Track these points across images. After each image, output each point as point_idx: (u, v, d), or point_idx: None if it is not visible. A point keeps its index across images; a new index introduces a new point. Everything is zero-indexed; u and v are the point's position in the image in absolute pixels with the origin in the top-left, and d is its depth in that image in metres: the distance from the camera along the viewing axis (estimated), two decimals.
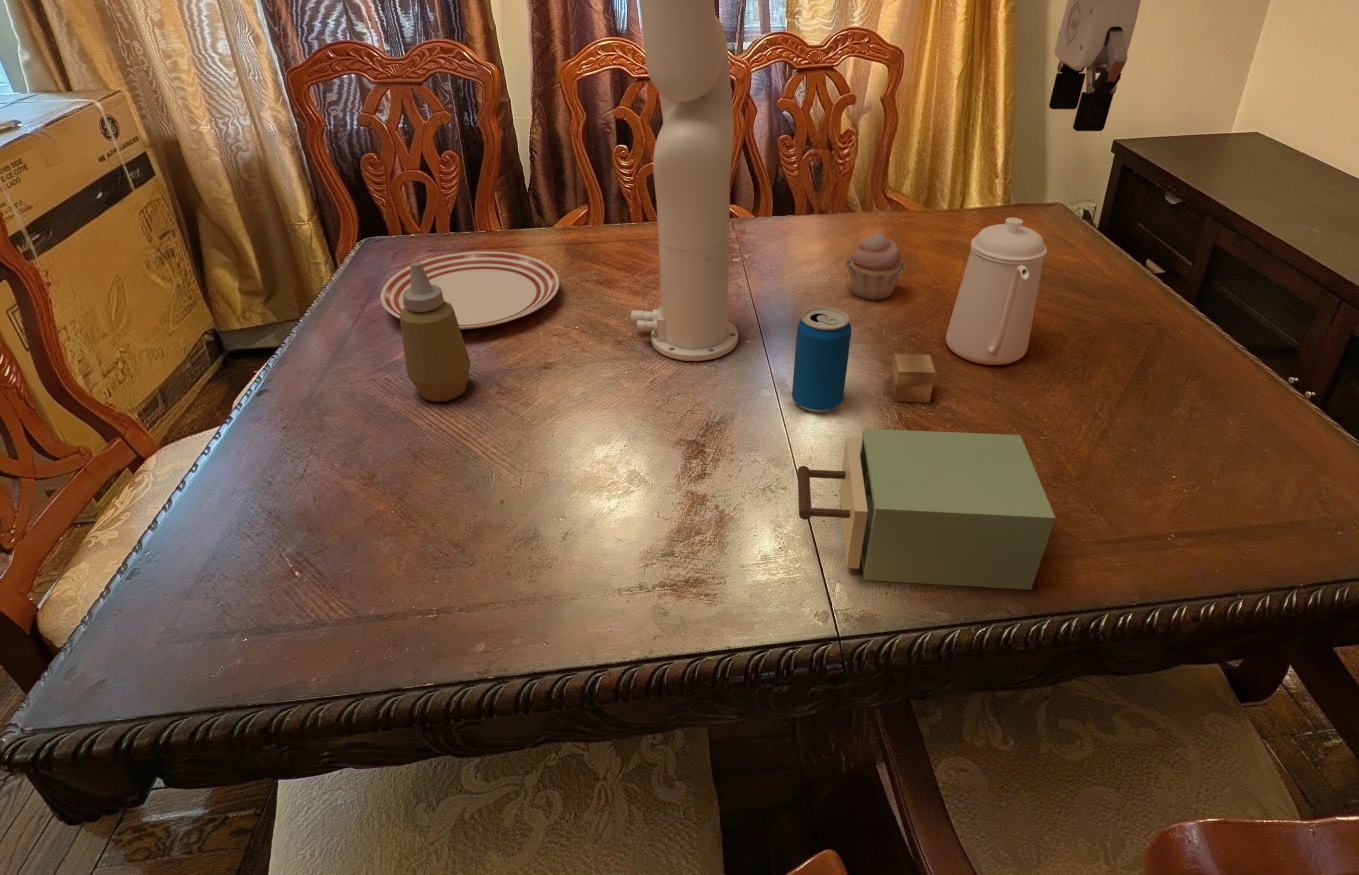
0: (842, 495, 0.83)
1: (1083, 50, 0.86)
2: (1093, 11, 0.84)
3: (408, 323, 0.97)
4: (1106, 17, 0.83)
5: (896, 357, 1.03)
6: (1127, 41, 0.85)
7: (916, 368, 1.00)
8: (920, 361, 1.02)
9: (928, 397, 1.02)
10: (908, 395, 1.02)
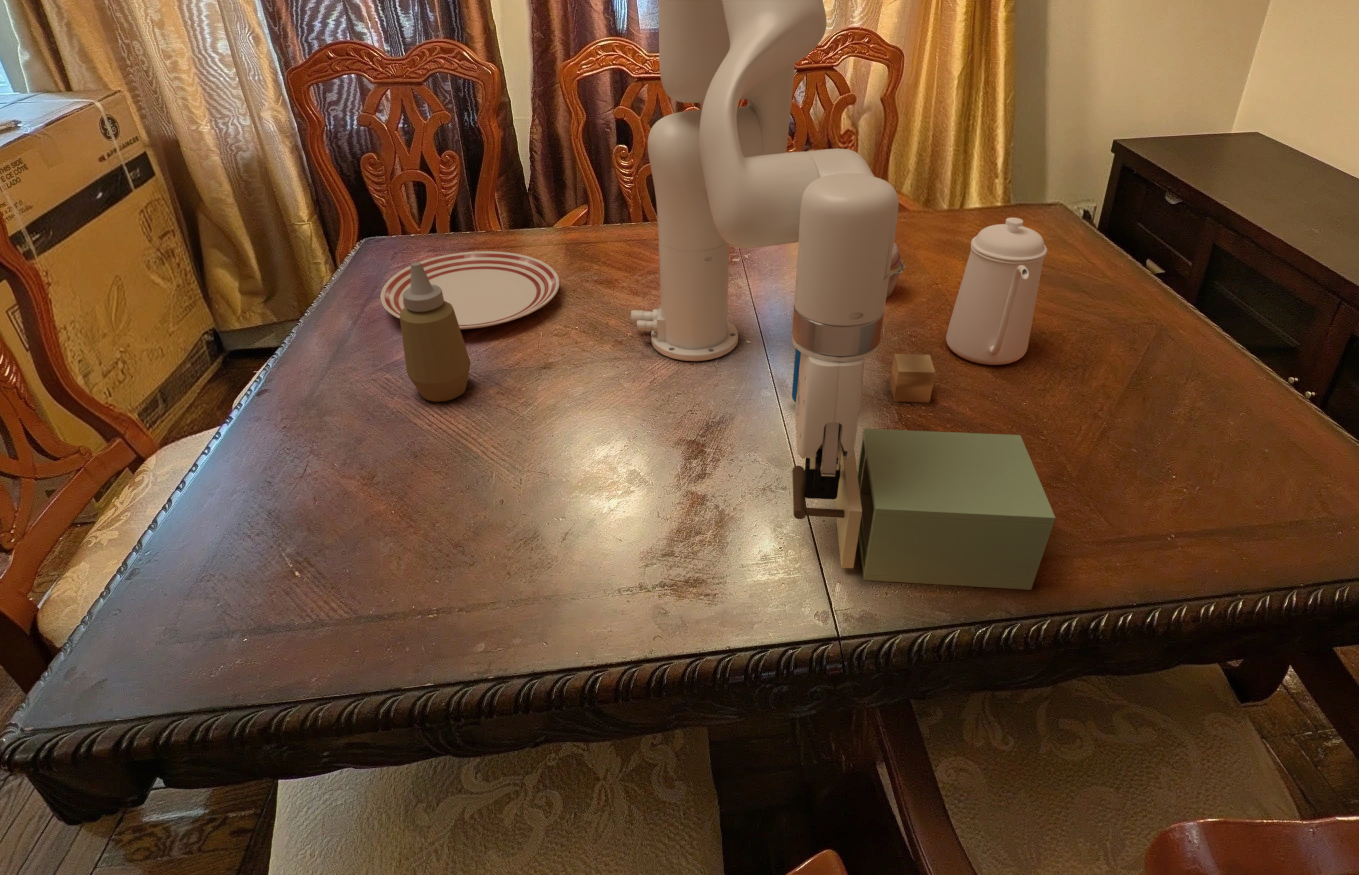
0: (837, 495, 0.83)
1: (801, 441, 0.70)
2: (805, 404, 0.68)
3: (408, 323, 0.97)
4: (820, 413, 0.68)
5: (896, 357, 1.03)
6: (851, 436, 0.69)
7: (916, 368, 1.00)
8: (920, 361, 1.02)
9: (928, 397, 1.02)
10: (908, 395, 1.02)
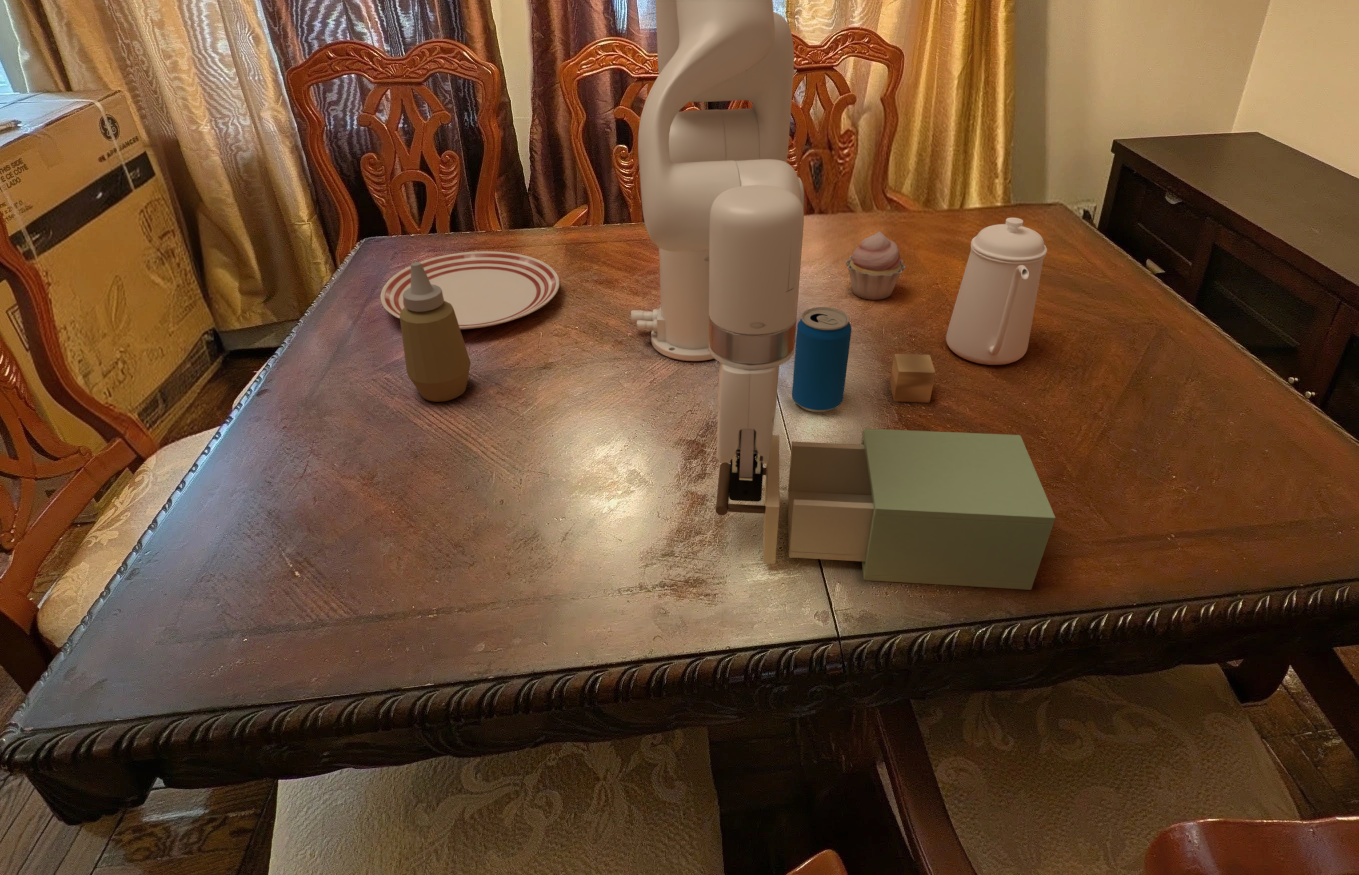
0: None
1: (718, 446, 0.71)
2: (719, 410, 0.70)
3: (408, 323, 0.97)
4: (734, 419, 0.69)
5: (896, 357, 1.03)
6: (765, 442, 0.70)
7: (916, 368, 1.00)
8: (920, 361, 1.02)
9: (928, 397, 1.02)
10: (908, 395, 1.02)
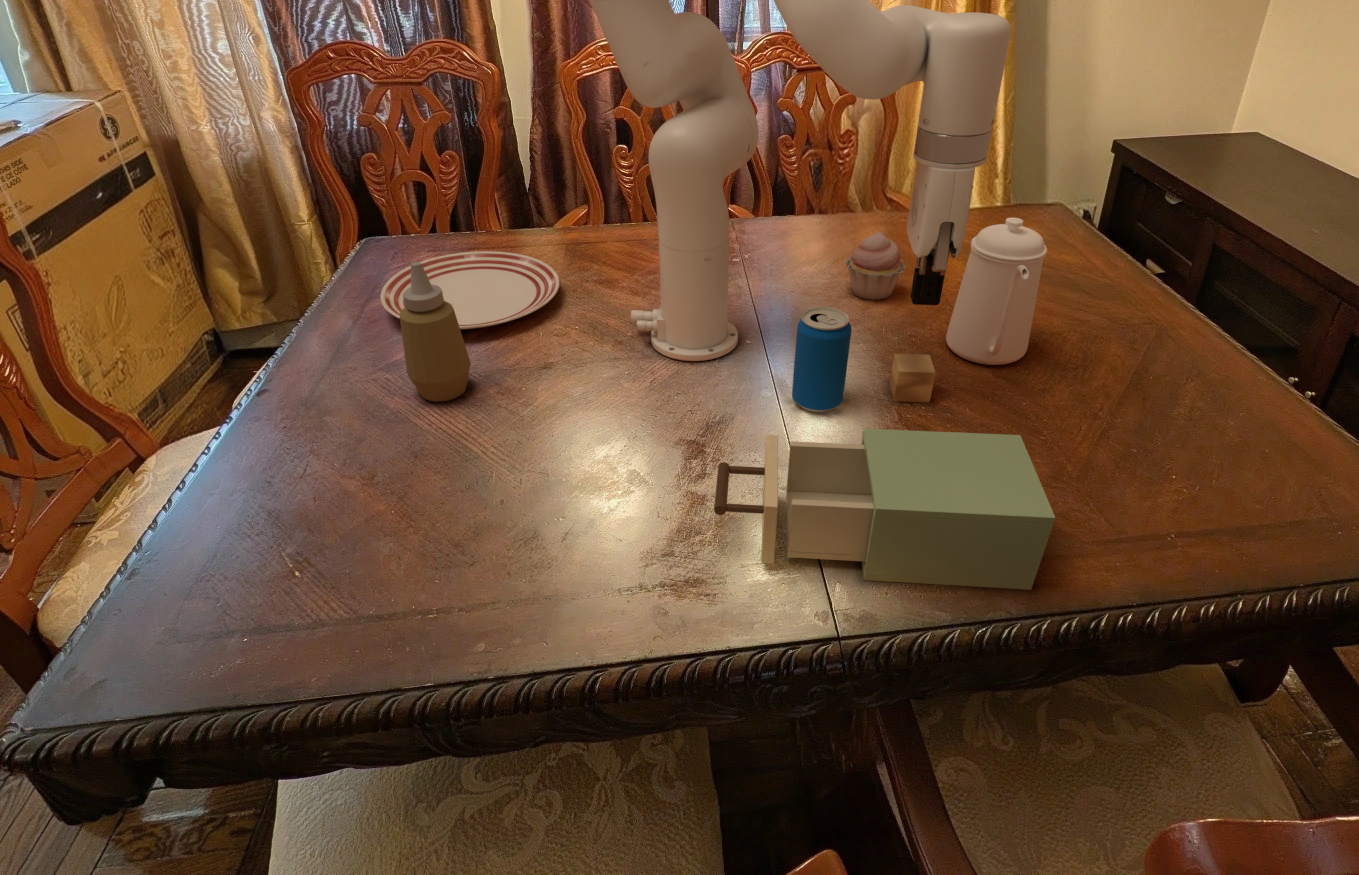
0: (763, 491, 0.84)
1: (919, 241, 0.87)
2: (925, 207, 0.85)
3: (408, 323, 0.97)
4: (937, 213, 0.85)
5: (896, 357, 1.03)
6: (961, 234, 0.86)
7: (916, 368, 1.00)
8: (920, 361, 1.02)
9: (928, 397, 1.02)
10: (908, 395, 1.02)
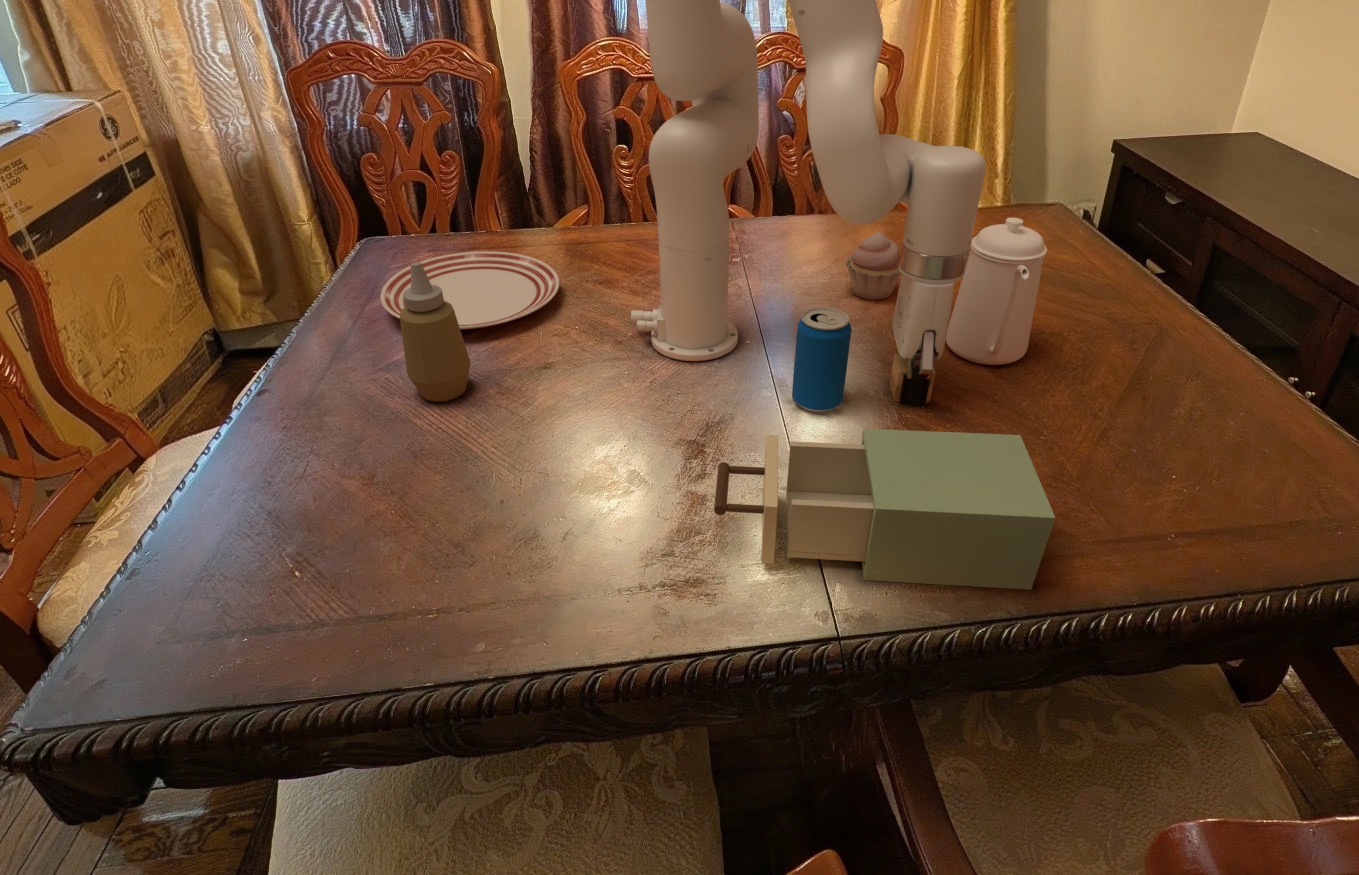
0: (763, 491, 0.84)
1: (904, 345, 0.95)
2: (909, 316, 0.93)
3: (408, 323, 0.97)
4: (920, 322, 0.93)
5: (896, 357, 1.03)
6: (942, 340, 0.94)
7: None
8: None
9: (928, 397, 1.02)
10: None
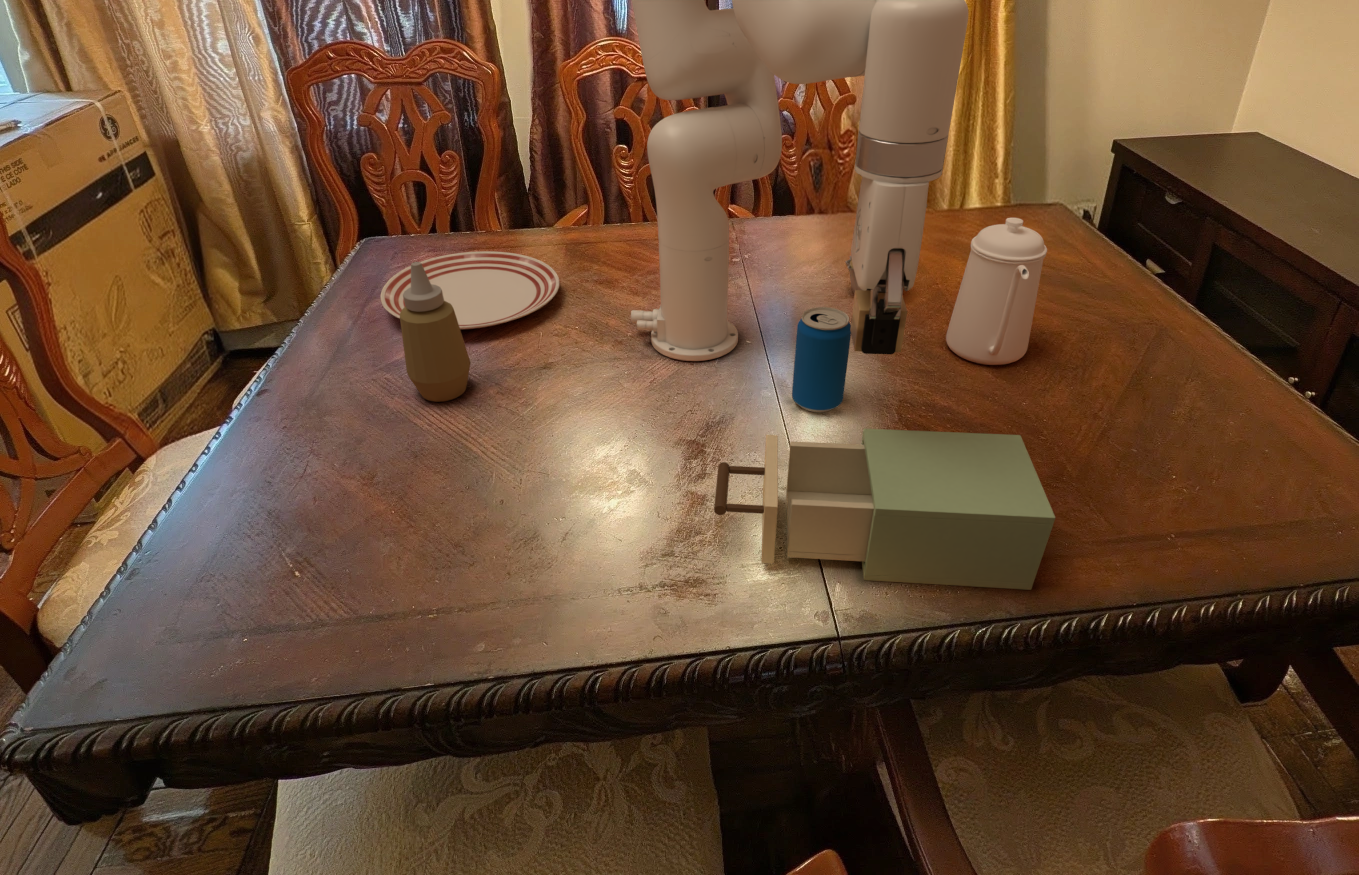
0: (763, 491, 0.84)
1: (864, 271, 0.71)
2: (869, 230, 0.69)
3: (408, 323, 0.97)
4: (884, 238, 0.69)
5: (857, 294, 0.79)
6: (913, 263, 0.70)
7: None
8: None
9: (899, 345, 0.78)
10: None
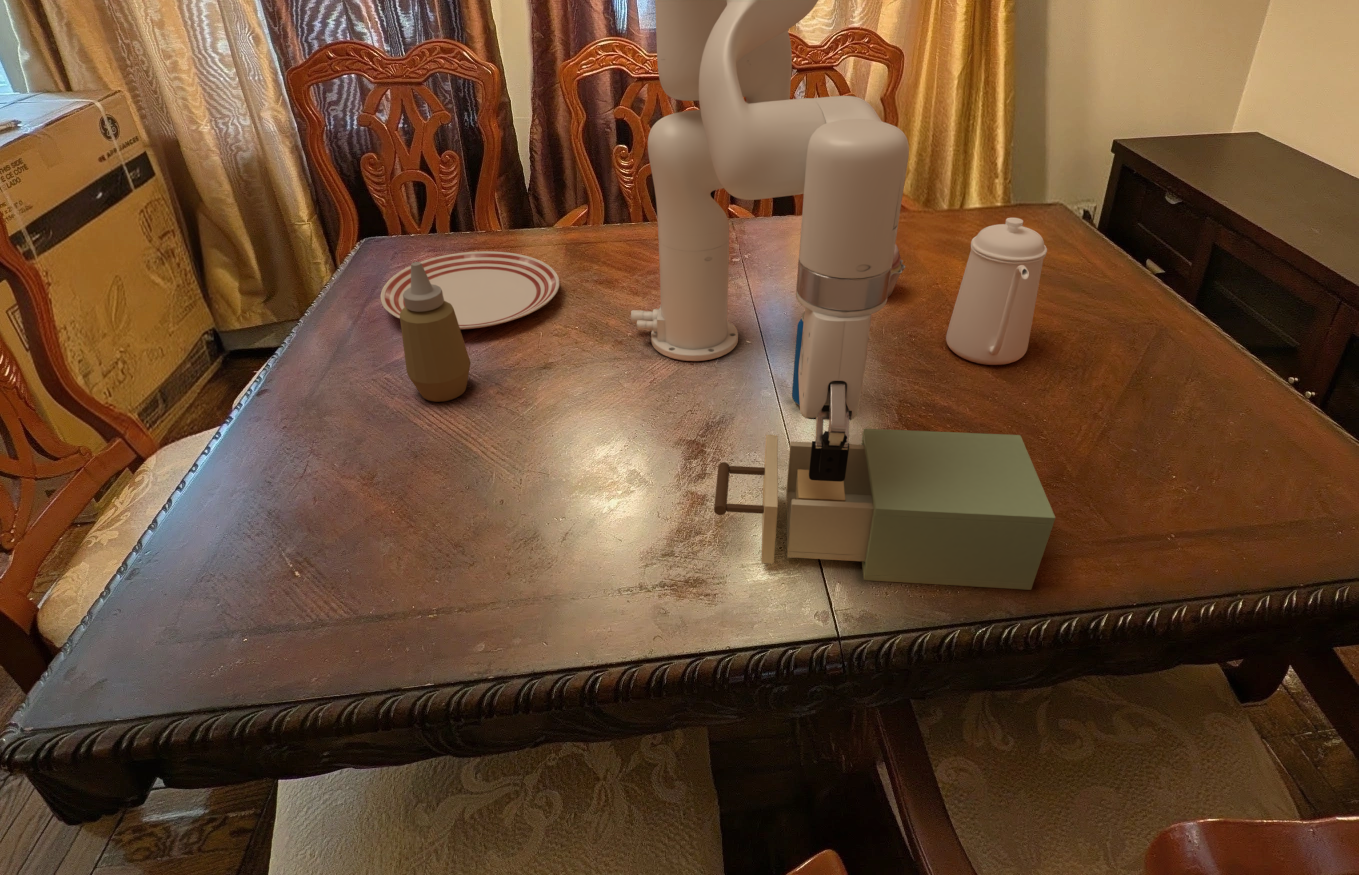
0: (763, 491, 0.84)
1: (804, 400, 0.68)
2: (808, 361, 0.66)
3: (408, 323, 0.97)
4: (824, 371, 0.66)
5: (799, 475, 0.80)
6: (855, 395, 0.67)
7: (822, 493, 0.78)
8: (828, 482, 0.79)
9: None
10: None
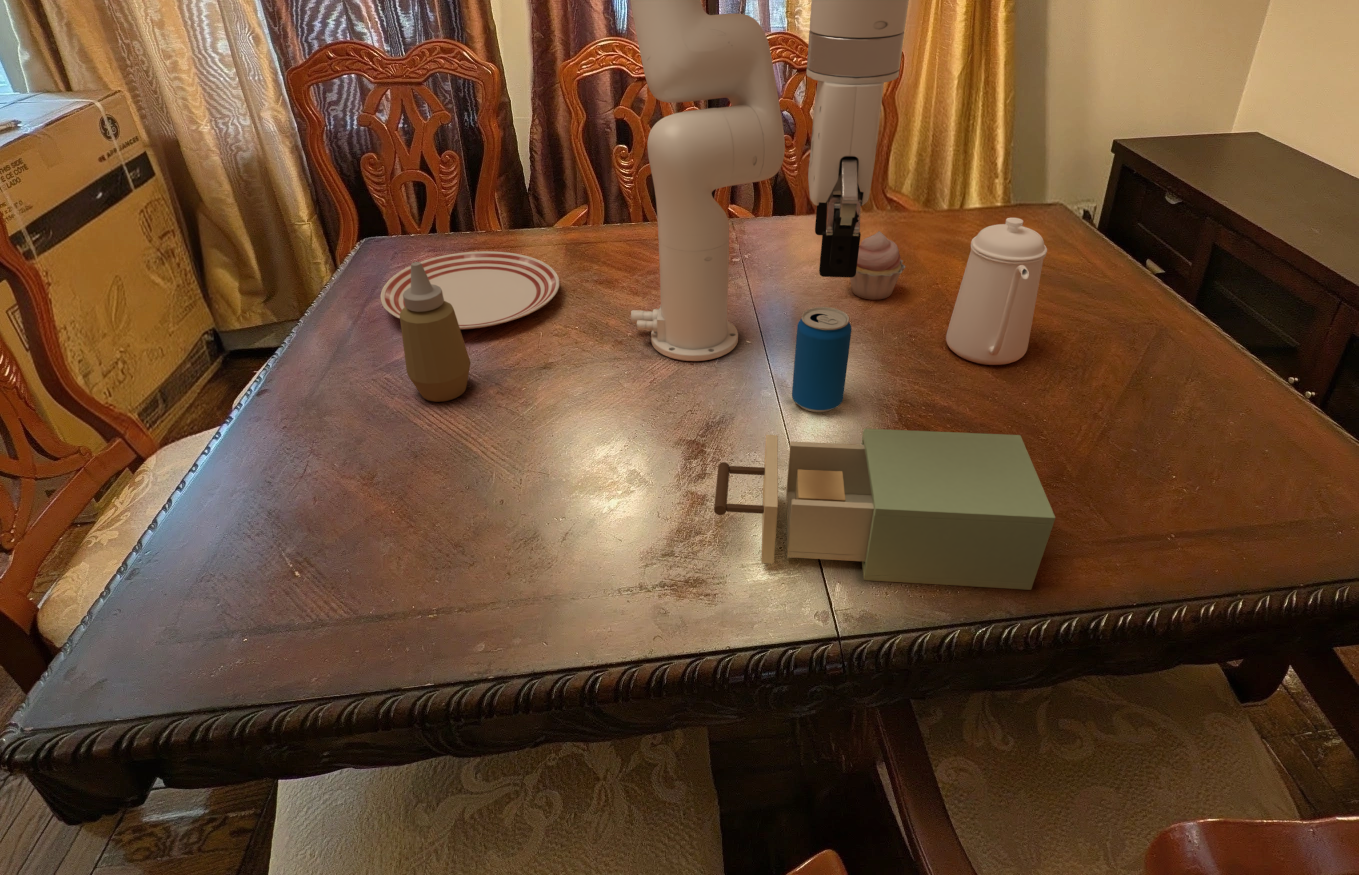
0: (763, 491, 0.84)
1: (815, 183, 0.67)
2: (819, 136, 0.65)
3: (408, 323, 0.97)
4: (835, 145, 0.65)
5: (799, 475, 0.80)
6: (867, 173, 0.66)
7: (822, 493, 0.78)
8: (828, 482, 0.79)
9: None
10: None
